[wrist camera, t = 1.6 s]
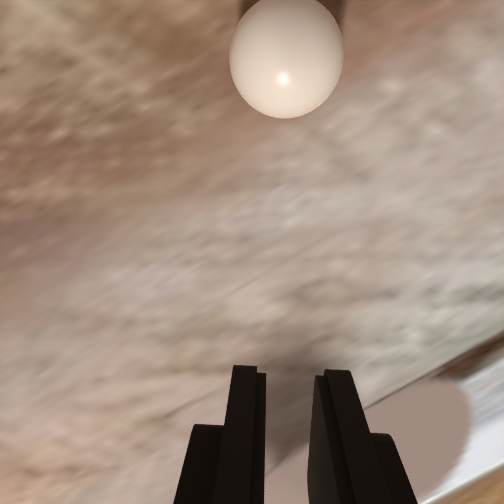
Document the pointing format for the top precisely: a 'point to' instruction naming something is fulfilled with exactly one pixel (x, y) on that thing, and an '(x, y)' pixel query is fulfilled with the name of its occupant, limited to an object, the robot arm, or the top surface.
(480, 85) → the top surface
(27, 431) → the top surface
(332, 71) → the cue ball
